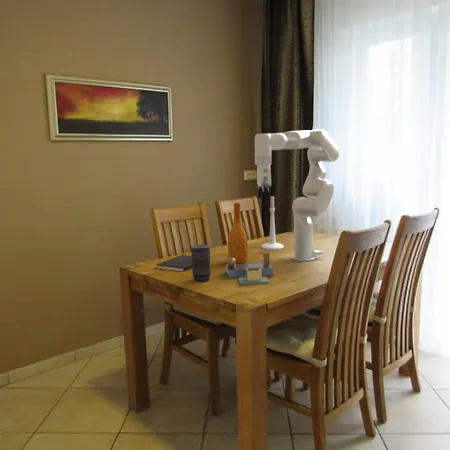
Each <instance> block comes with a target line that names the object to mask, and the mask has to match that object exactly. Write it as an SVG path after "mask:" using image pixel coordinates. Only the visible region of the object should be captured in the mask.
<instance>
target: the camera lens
mask: <svg viewBox="0 0 450 450" xmlns="http://www.w3.org/2000/svg"><path fill="white" fill-rule="evenodd" d="M190 254H191V255H190V256H191V257H192V268H191V270H192V277H193V280H194V281H195V282H199V283H203V282H205V283H206V282H208V281H209V280H210V277H211V249H210V245H208V244H196V245H192V246H191V250H190Z"/></svg>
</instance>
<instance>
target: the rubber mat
mask: <svg viewBox="0 0 450 450" xmlns="http://www.w3.org/2000/svg"><path fill="white" fill-rule="evenodd" d="M237 278H238V282H239V284H240V286H245V285H247V286H248V285H269V284H270V280H268V277H267V276H262V281H252V282H248V281H247V280H246V277H237Z"/></svg>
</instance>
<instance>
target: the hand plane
mask: <svg viewBox="0 0 450 450" xmlns="http://www.w3.org/2000/svg"><path fill="white" fill-rule="evenodd" d="M262 259H263V260H262V261H263V262H258V263H257V262H256V263H255V262H254V263H251V262H250V263H235V258H229V257H228V258H227V264H225V268H226V269H225V272H226V273H225V274H226V275H227V277H228V278H229V279H230V278H231V279H232V278H233V279H234V278H236V279H237V278H246V268H249V267H259V268H260V269H261V271H262V277H273V276H274V267H273V266H272V265H271V263H270V252H269V251H263V255H262Z"/></svg>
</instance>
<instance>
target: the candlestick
mask: <svg viewBox="0 0 450 450" xmlns="http://www.w3.org/2000/svg"><path fill="white" fill-rule="evenodd" d="M275 210H276V207H275V196H273V195H272V196H270V207H269V212H270V218H269V219H270V220H269V221H270V222H269V241H268V242H266V243H264V244H262V245H261V249H263V250H269V251H270V250H271V251H273V250H275V251H277V250H281V249H284V245H283V244H282V243H279V242H276V241H277V240H276V226H275V225H276V223H275Z"/></svg>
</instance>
